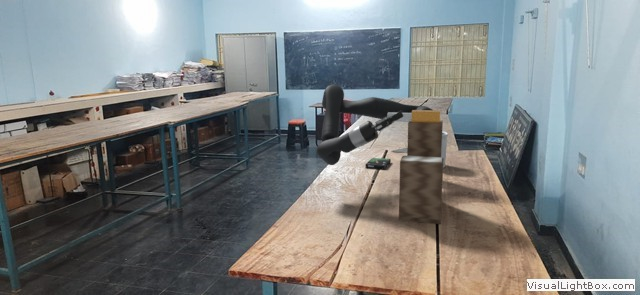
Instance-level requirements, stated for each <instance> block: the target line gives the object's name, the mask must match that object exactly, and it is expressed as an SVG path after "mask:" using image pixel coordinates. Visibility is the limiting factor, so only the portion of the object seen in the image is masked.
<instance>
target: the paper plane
mask: <svg viewBox="0 0 640 295" xmlns="http://www.w3.org/2000/svg"><path fill="white" fill-rule="evenodd" d="M407 149H408V146H407V147H404V148H399V149H394V150H392V152H395V153H406V154H407Z"/></svg>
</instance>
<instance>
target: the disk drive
mask: <svg viewBox="0 0 640 295" xmlns="http://www.w3.org/2000/svg"><path fill="white" fill-rule="evenodd" d="M391 160H392V159H391V158H383V157H380V158H379V157H377V158H376V157H373V158H370V160H368V161H367V162H366V163H365V169H368V170H370V169H371V170H387V168H388V167H389V165H390V164H391V163H392V162H391Z"/></svg>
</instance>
